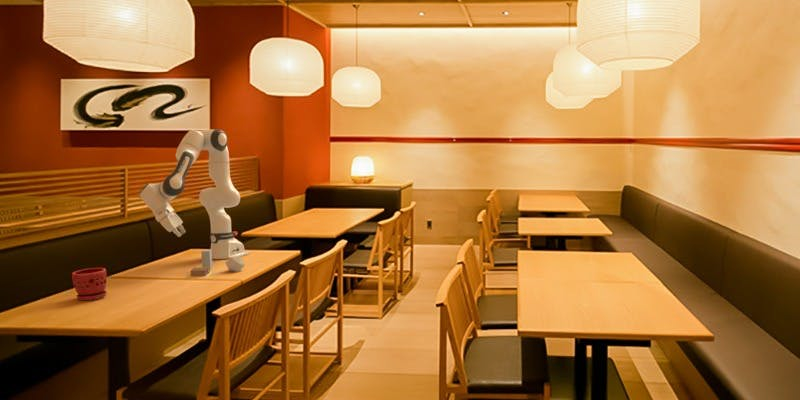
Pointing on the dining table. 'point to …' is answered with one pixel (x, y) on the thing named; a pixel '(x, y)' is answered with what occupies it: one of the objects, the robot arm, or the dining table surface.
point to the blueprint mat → (200, 276)
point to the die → (235, 263)
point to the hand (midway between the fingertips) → (182, 234)
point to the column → (207, 258)
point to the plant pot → (90, 283)
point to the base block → (200, 271)
